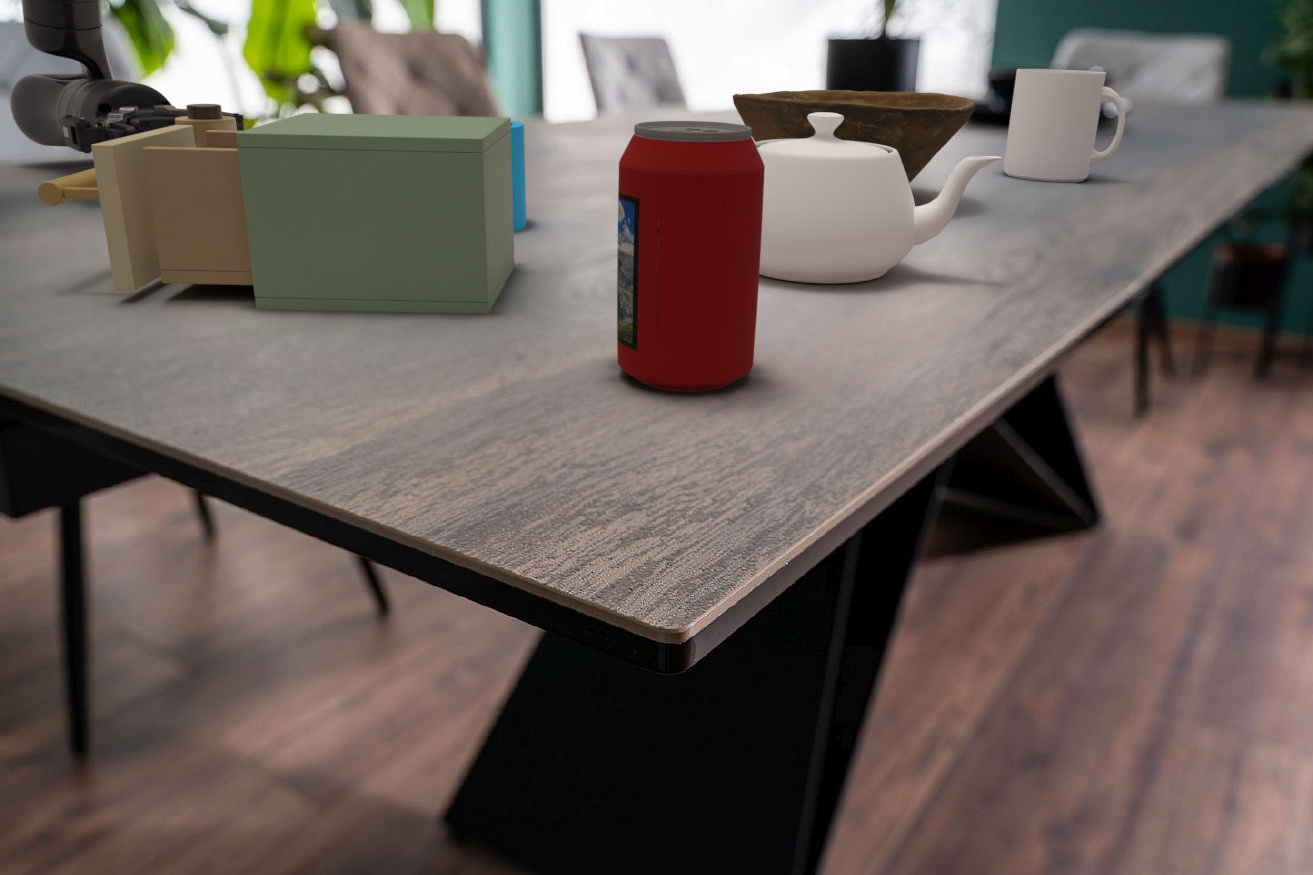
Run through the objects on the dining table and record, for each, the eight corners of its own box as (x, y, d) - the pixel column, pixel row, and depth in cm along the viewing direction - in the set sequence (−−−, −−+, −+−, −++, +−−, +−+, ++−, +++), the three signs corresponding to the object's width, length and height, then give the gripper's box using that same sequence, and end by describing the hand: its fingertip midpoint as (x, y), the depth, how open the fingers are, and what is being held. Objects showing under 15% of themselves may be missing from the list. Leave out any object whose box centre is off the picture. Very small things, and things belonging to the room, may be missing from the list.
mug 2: (994, 170, 129) (1008, 68, 125) (1097, 174, 128) (1114, 71, 124) (1012, 182, 121) (1027, 72, 116) (1122, 186, 120) (1142, 75, 115)
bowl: (867, 180, 120) (876, 85, 116) (1010, 214, 100) (1026, 102, 97) (690, 188, 111) (694, 86, 107) (809, 227, 92) (818, 105, 88)
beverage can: (653, 350, 58) (658, 116, 53) (772, 369, 55) (788, 125, 50) (591, 385, 52) (591, 127, 47) (721, 409, 49) (733, 137, 45)
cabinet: (256, 311, 63) (235, 132, 59) (318, 264, 75) (304, 112, 71) (488, 316, 63) (482, 138, 59) (514, 268, 75) (510, 117, 71)
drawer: (33, 288, 63) (5, 142, 60) (122, 248, 74) (102, 123, 71) (328, 295, 63) (315, 149, 60) (375, 254, 74) (365, 129, 71)
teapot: (649, 280, 72) (652, 113, 68) (693, 242, 85) (698, 99, 81) (988, 308, 68) (1013, 130, 64) (982, 263, 80) (1003, 112, 76)
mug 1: (541, 232, 87) (539, 127, 84) (442, 239, 84) (437, 130, 81) (492, 208, 97) (489, 114, 94) (402, 213, 94) (396, 116, 91)
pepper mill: (178, 221, 88) (162, 106, 85) (200, 211, 92) (186, 102, 89) (235, 222, 88) (221, 108, 85) (254, 213, 92) (242, 103, 89)
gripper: (31, 81, 96) (88, 93, 85) (192, 78, 105) (262, 89, 94) (46, 167, 99) (104, 190, 88) (202, 157, 108) (272, 176, 97)
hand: (186, 137), depth 91 cm, fingers open, 8 cm apart
